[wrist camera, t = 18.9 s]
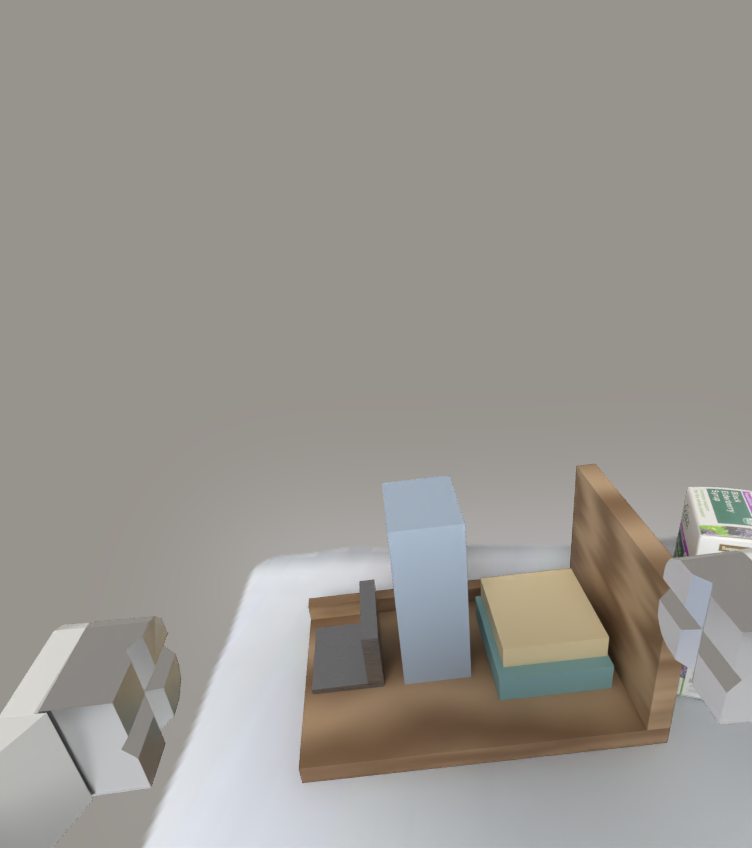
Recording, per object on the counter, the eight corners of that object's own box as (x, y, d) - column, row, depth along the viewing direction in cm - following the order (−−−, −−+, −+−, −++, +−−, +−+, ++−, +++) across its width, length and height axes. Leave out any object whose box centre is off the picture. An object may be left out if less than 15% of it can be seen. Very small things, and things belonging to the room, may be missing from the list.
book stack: (611, 688, 39) (616, 647, 37) (499, 700, 39) (499, 660, 37) (569, 604, 46) (572, 568, 44) (475, 615, 46) (474, 579, 44)
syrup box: (656, 634, 44) (681, 482, 38) (741, 648, 42) (782, 490, 36) (665, 694, 39) (695, 532, 33) (761, 713, 37) (812, 544, 31)
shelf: (667, 742, 36) (697, 587, 30) (302, 782, 36) (263, 635, 30) (584, 593, 49) (595, 463, 43) (314, 623, 49) (288, 498, 43)
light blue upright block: (456, 616, 46) (449, 475, 40) (471, 677, 41) (465, 523, 35) (398, 623, 46) (381, 483, 40) (404, 684, 41) (387, 532, 35)
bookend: (384, 686, 41) (377, 637, 38) (312, 694, 41) (302, 646, 38) (380, 625, 46) (374, 579, 44) (317, 632, 46) (307, 587, 44)
